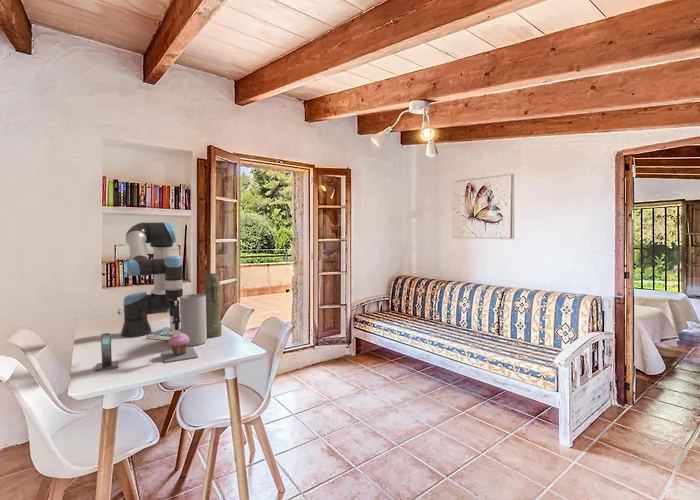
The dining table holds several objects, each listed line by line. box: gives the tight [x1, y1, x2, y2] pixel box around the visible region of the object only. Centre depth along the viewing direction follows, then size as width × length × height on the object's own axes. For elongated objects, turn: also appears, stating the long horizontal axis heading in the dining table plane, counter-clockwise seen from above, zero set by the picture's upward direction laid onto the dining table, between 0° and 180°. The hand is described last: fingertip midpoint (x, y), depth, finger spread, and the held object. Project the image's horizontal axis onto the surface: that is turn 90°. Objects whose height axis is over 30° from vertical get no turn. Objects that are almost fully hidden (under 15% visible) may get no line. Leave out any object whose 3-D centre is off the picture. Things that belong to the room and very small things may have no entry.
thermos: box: [204, 272, 223, 338], centre depth 211 cm, size 9×12×35 cm
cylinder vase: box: [179, 293, 208, 347], centre depth 197 cm, size 12×12×25 cm
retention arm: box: [101, 332, 111, 349], centre depth 156 cm, size 3×19×2 cm, turn 33°
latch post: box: [94, 337, 119, 372], centre depth 163 cm, size 8×8×12 cm
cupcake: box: [168, 332, 190, 355], centre depth 178 cm, size 9×9×10 cm
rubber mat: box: [161, 346, 199, 364], centre depth 178 cm, size 16×14×1 cm
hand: (175, 332), depth 178 cm, fingers open, 13 cm apart
